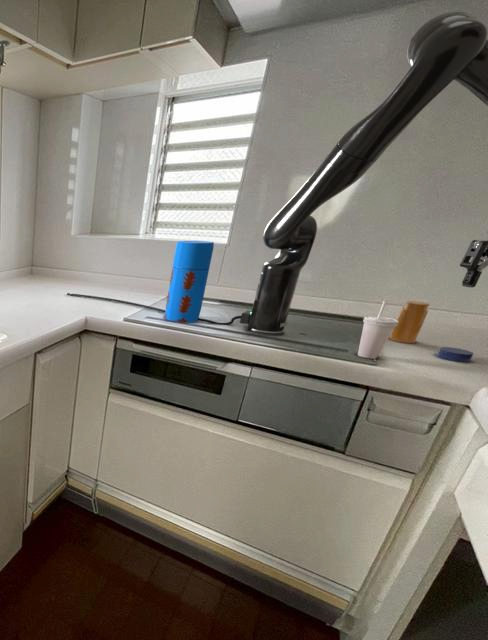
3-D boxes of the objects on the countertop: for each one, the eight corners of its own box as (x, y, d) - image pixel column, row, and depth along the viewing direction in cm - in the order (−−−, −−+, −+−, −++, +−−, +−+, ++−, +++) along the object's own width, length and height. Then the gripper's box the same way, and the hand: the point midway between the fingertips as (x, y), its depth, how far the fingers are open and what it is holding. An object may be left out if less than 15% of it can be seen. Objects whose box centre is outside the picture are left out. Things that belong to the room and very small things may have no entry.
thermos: (164, 321, 134) (178, 242, 125) (163, 313, 144) (175, 240, 134) (200, 323, 131) (217, 243, 121) (197, 316, 140) (212, 241, 131)
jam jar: (395, 342, 113) (410, 304, 109) (386, 336, 117) (400, 300, 113) (419, 343, 111) (435, 305, 107) (408, 338, 116) (424, 301, 111)
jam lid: (453, 354, 103) (457, 347, 102) (477, 362, 98) (481, 354, 97) (430, 354, 103) (433, 346, 102) (452, 362, 98) (456, 354, 97)
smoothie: (350, 350, 106) (369, 297, 101) (383, 355, 103) (405, 301, 97) (351, 356, 102) (371, 302, 96) (385, 362, 98) (408, 305, 93)
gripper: (509, 213, 84) (472, 290, 91) (579, 212, 84) (537, 290, 90) (470, 212, 91) (439, 284, 98) (535, 212, 91) (499, 284, 97)
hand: (486, 286), depth 94 cm, fingers open, 8 cm apart
